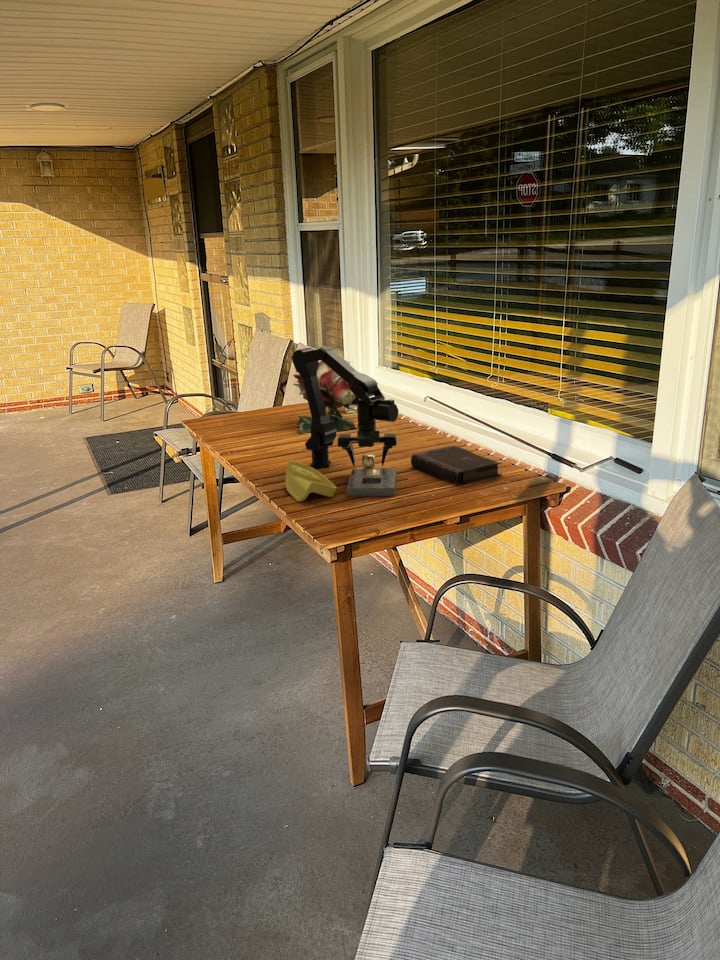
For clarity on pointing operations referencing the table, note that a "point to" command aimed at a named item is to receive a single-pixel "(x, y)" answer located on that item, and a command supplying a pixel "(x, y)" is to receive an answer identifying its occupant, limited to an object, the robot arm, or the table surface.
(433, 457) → the diary
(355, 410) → the pneumatic valve
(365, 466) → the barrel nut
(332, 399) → the rose bouquet
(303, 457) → the table surface
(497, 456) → the table surface
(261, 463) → the table surface
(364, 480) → the flange plate
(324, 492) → the plastic component
